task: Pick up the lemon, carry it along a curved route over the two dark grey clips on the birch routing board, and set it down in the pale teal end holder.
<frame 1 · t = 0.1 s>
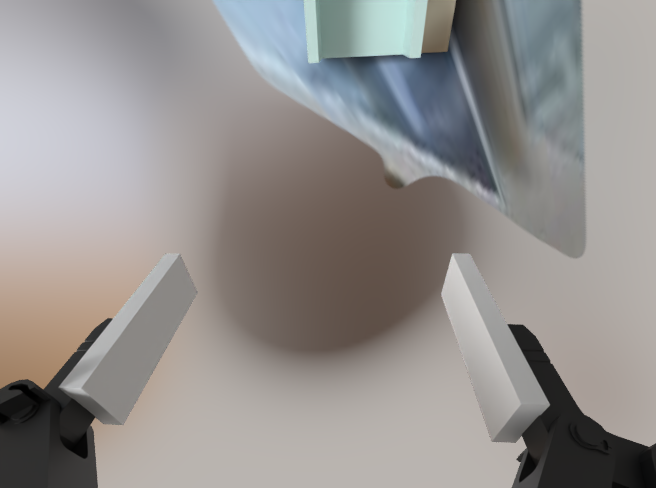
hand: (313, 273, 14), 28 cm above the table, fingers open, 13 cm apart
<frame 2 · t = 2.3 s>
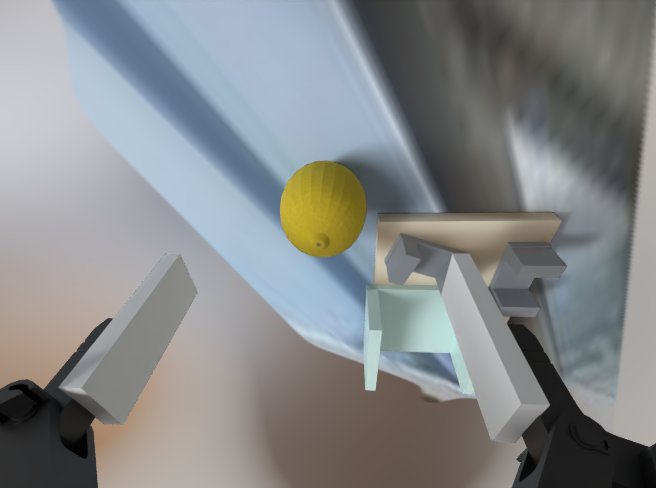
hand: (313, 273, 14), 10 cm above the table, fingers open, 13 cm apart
clip b: (514, 269, 25), resting on routing board
end holder: (416, 319, 29), resting on routing board
lemon: (327, 179, 22), on the table
routing board: (442, 287, 28), on the table
clip a: (424, 256, 24), resting on routing board
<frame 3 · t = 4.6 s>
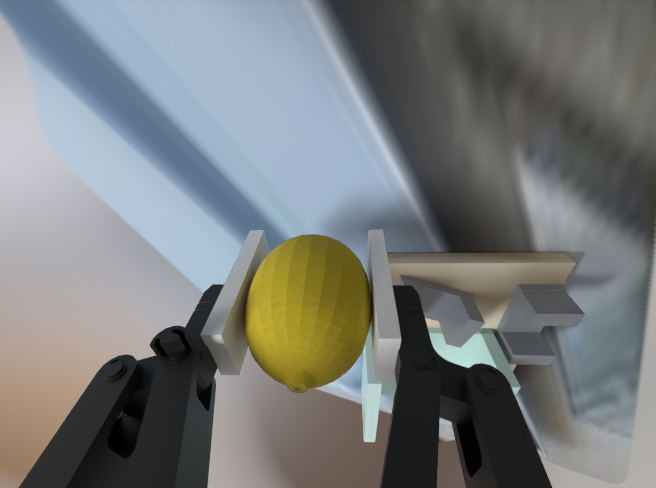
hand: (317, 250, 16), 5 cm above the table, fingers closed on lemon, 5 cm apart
clip b: (524, 312, 23), resting on routing board
end holder: (418, 361, 27), resting on routing board
lemon: (318, 246, 16), point 4 cm above the table, touching gripper
routing board: (446, 327, 26), on the table
clip a: (426, 298, 22), resting on routing board
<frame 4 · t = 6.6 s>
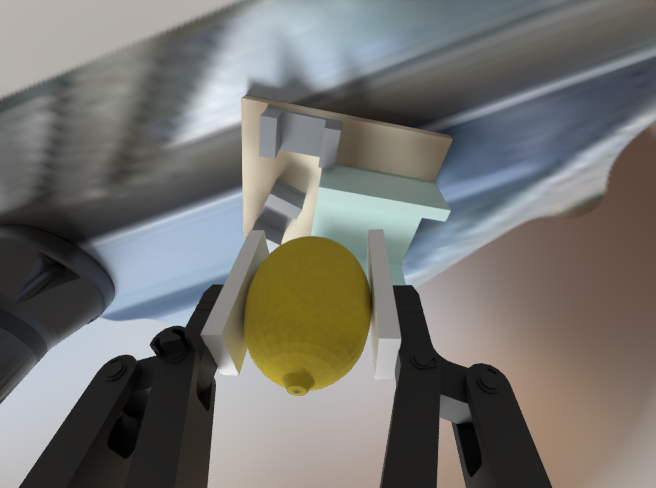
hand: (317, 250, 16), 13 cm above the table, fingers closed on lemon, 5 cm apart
clip b: (303, 133, 23), resting on routing board
end holder: (364, 221, 28), resting on routing board
lemon: (318, 247, 16), point 12 cm above the table, touching gripper
routing board: (334, 188, 28), on the table
clip a: (278, 210, 28), resting on routing board
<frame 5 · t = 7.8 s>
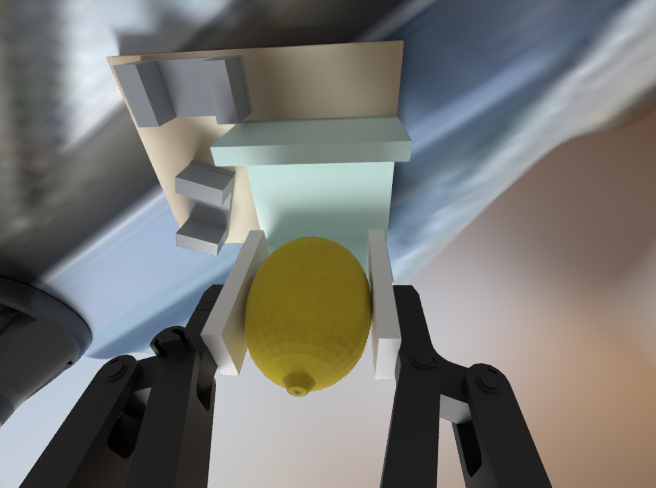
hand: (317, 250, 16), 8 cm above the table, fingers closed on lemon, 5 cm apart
clip b: (199, 87, 17), resting on routing board
end holder: (321, 193, 21), resting on routing board
lemon: (318, 247, 16), point 7 cm above the table, touching gripper
routing board: (273, 159, 21), on the table
clip a: (212, 201, 22), resting on routing board
when the fingers open (3 cm above the table, at t = 8.7 s): lemon drops 1 cm, resting on end holder.
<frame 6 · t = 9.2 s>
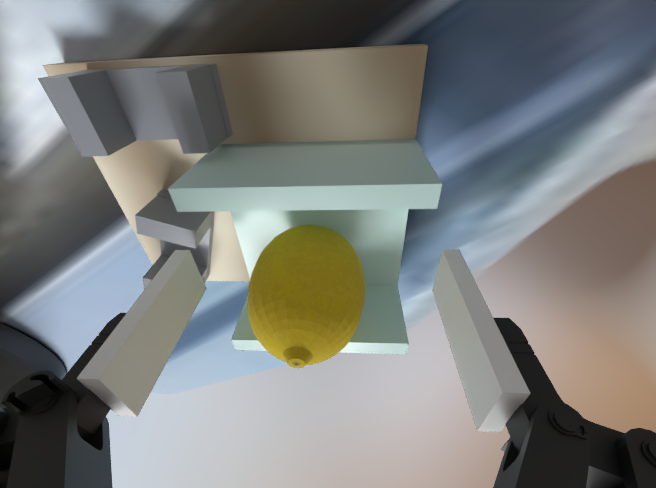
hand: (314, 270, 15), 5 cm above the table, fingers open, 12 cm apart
clip b: (163, 103, 14), resting on routing board
end holder: (320, 228, 18), resting on routing board
lemon: (315, 235, 17), point 2 cm above the table, touching end holder
routing board: (261, 187, 17), on the table
clip a: (188, 236, 18), resting on routing board
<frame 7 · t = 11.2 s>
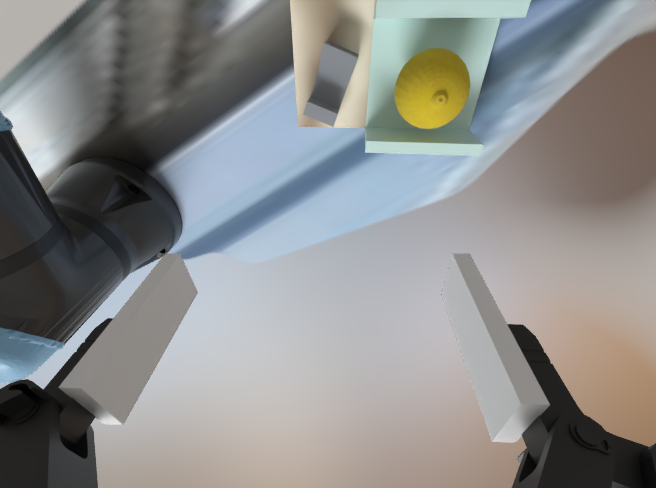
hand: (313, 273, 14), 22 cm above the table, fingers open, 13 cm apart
end holder: (424, 78, 26), resting on routing board
lemon: (421, 81, 26), point 2 cm above the table, touching end holder
routing board: (387, 47, 26), on the table
clip a: (331, 83, 27), resting on routing board
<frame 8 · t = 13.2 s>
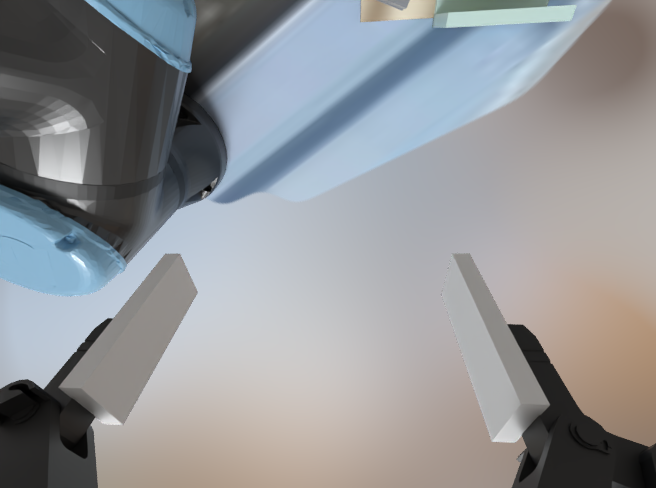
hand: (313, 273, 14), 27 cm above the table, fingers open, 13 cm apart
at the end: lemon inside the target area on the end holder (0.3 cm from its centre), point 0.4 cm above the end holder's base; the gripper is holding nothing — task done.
